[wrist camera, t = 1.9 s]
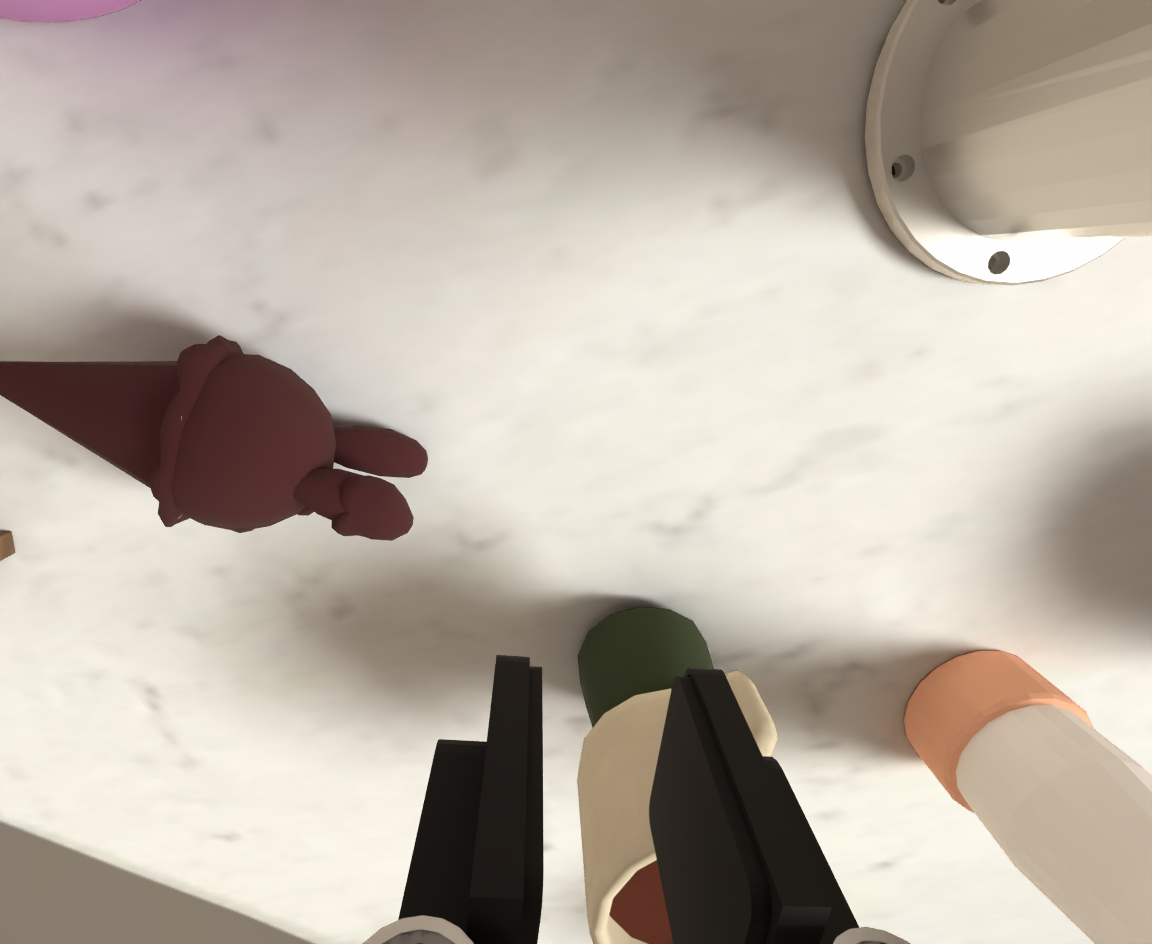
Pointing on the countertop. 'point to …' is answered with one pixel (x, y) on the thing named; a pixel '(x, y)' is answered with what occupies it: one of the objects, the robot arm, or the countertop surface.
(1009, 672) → the salt shaker
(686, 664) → the character mug
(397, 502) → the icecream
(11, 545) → the frame
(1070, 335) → the countertop surface
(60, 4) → the teapot
